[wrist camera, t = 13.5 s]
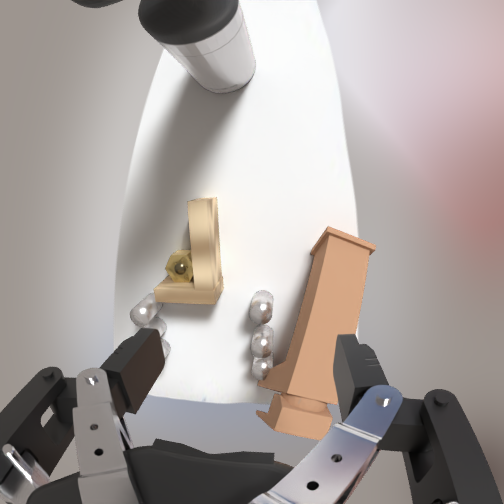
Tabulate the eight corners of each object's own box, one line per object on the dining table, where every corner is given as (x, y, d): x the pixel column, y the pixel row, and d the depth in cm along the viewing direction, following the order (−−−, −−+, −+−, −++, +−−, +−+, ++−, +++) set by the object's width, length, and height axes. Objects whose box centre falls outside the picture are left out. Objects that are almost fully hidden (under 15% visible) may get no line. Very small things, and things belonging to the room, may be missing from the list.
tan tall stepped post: (286, 283, 56) (246, 406, 45) (327, 226, 35) (269, 430, 24) (319, 294, 56) (283, 416, 45) (376, 245, 35) (331, 442, 24)
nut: (170, 250, 43) (163, 255, 40) (200, 249, 43) (194, 255, 40) (173, 275, 44) (166, 282, 42) (202, 275, 44) (197, 282, 41)
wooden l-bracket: (161, 200, 42) (143, 204, 36) (218, 197, 41) (207, 200, 35) (170, 287, 45) (155, 301, 39) (223, 288, 44) (215, 304, 38)
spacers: (143, 287, 46) (126, 301, 40) (273, 290, 43) (271, 307, 37) (156, 354, 49) (144, 372, 43) (273, 362, 47) (271, 384, 41)
